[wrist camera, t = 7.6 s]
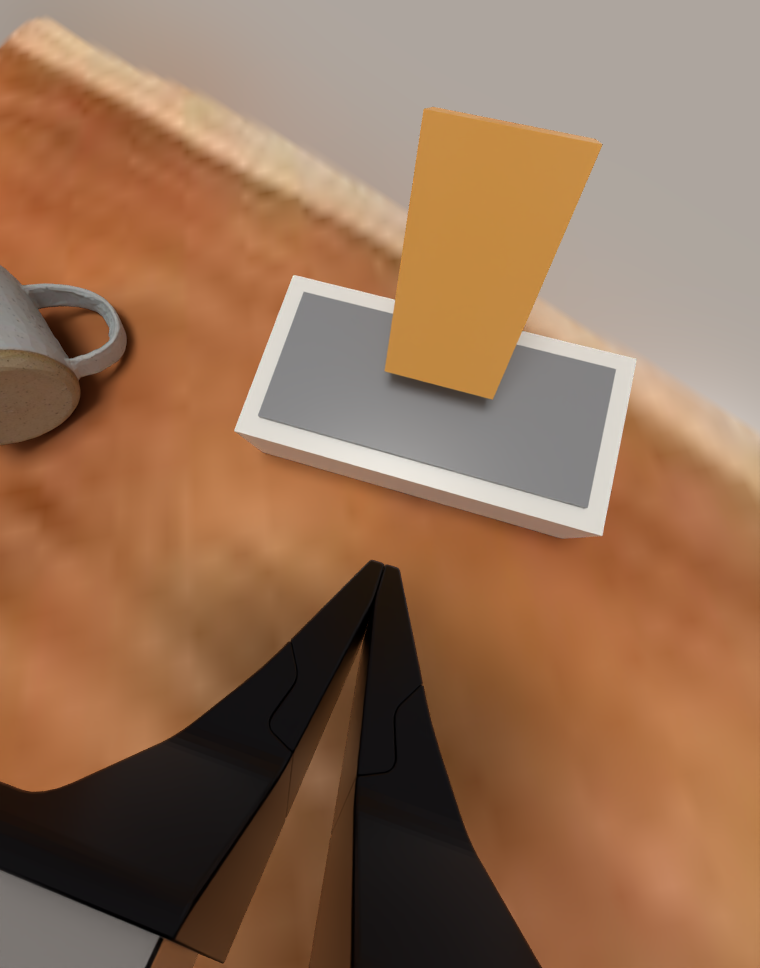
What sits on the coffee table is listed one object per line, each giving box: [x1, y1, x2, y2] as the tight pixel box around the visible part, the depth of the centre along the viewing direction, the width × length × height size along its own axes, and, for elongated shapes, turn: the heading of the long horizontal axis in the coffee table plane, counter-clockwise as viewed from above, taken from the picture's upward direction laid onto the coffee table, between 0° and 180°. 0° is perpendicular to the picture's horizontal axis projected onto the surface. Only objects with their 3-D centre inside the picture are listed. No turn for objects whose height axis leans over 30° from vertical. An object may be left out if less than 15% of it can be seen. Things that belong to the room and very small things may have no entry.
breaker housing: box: [234, 275, 637, 539], centre depth 20 cm, size 9×18×4 cm, turn 73°
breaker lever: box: [385, 107, 602, 400], centre depth 14 cm, size 2×5×8 cm
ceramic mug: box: [0, 265, 127, 445], centre depth 20 cm, size 11×8×8 cm
